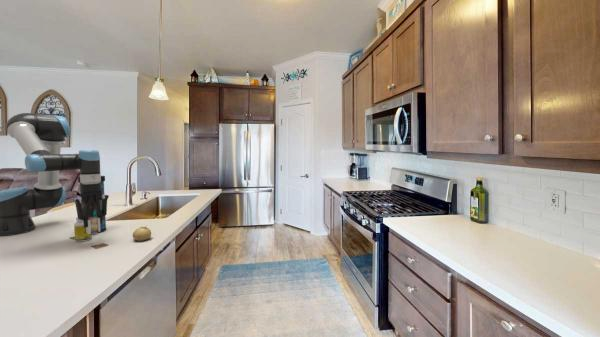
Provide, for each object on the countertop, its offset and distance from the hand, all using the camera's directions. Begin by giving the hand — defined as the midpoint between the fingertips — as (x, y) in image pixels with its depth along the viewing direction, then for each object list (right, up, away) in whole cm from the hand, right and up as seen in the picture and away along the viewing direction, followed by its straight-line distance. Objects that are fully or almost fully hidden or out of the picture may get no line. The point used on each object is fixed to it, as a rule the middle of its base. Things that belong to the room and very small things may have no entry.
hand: (93, 232), depth 124 cm
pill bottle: (-9, -5, +6) cm, 12 cm away
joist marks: (-5, -5, +3) cm, 8 cm away
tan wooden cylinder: (0, -1, 0) cm, 1 cm away
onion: (+19, -6, +7) cm, 21 cm away
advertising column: (-14, -4, +19) cm, 24 cm away
